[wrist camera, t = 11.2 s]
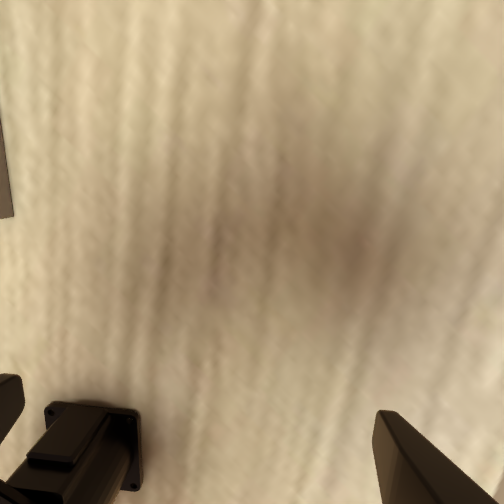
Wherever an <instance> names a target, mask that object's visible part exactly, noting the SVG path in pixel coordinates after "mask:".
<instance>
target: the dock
mask: <svg viewBox="0 0 504 504" xmlns="http://www.w3.org/2000/svg"><path fill="white" fill-rule="evenodd" d="M8 217H13V209H12V202H11V195H10V187H9V180H8V173H7V166H6V158H5V151H4V144H3V137H2V130H1V122H0V219H3V218H8Z"/></svg>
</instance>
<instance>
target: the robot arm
mask: <svg viewBox="0 0 504 504" xmlns="http://www.w3.org/2000/svg"><path fill="white" fill-rule="evenodd" d="M24 406H25V397H24V390H23V384H22V379H21V377H20V376H19V375H17V374H7V373H3V374H0V444H1V443H2V441H3V440H4V438H5V437H6V435H7V434H8V432H9V431H10V429H11V428H12V427H13V425H14V424H15V422H16V421H17V419H18V418H19V416H20V415H21V413H22V411H23V409H24ZM44 415H45V422H46V429H47V431H46V432H45V433H44V434H43V436H42V437H41V438H40V439H39V440H38V441H37V442H36V444H35V445H34V446H33V447H32V448H31V449H30V450H29V452H28V453H27V455H26V457H27V458H26V459H25V460H24V461H23V462H22V463H21V465H20V466H19V467H18V468H17V469H16V470H15V472H14V473H13V474H12V475H11V476H10V477H9V479H8V480H7V481H6V482H4V481H3V480H1V479H0V504H113V502H114V500H115V498H116V496H117V494H118V492H119V490H125V491H134V492H135V491H139V490H140V488H141V486H142V483H143V477H142V457H141V436H140V417H139V415H138V413H137V412H135V411H132V410H122V409H112V408H103V407H93V406H84V405H74V404H64V403H55V402H53V403H50V404H49V405H48V406H47V407H46V408H45V409H44ZM130 418H132V419H133V420H131V419H130ZM372 448H373V454H374V459H375V465H376V470H377V476H378V482H379V487H380V493H381V498H382V504H499V503H498V502H497V501H495V500H494V499H493V498H492V497H491V496H490V495H489V494H488V493H487V492H485V491H484V490H483V489H482V488H481V487H480V486H479V485H478V484H476V483H475V482H474V481H473V480H472V479H471V478H470V477H469V476H468V475H466V474H465V473H464V472H463V471H462V470H461V469H460V468H459V467H457V466H456V465H455V464H454V463H453V462H452V461H451V460H450V459H449V458H447V457H446V456H445V455H444V454H443V453H442V452H441V451H440V450H438V449H437V448H436V447H435V446H434V445H433V444H432V443H431V442H430V441H428V440H427V439H426V438H425V437H424V436H423V435H422V434H421V433H419V432H418V431H417V430H416V429H415V428H414V427H413V426H412V425H411V424H409V423H408V422H407V421H406V420H405V419H404V418H403V417H402V416H400V415H399V414H398V413H397V412H395V411H388V410H379V411H378V412H377V414H376V418H375V425H374V431H373V437H372Z"/></svg>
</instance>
